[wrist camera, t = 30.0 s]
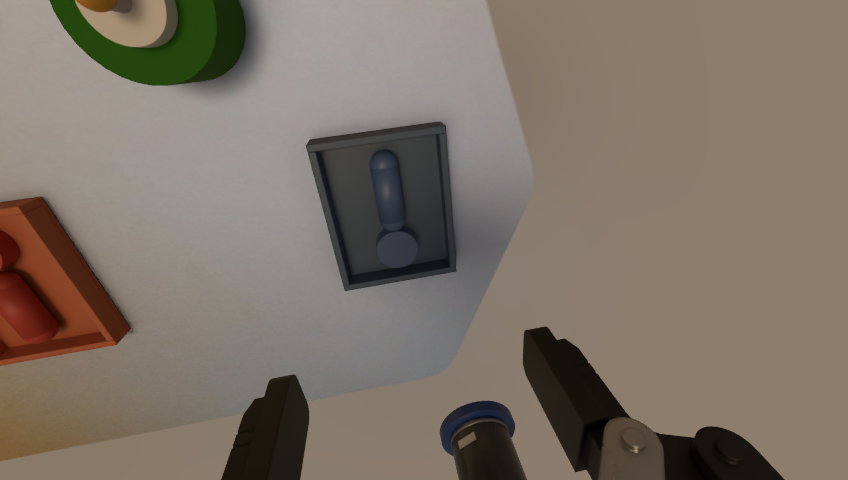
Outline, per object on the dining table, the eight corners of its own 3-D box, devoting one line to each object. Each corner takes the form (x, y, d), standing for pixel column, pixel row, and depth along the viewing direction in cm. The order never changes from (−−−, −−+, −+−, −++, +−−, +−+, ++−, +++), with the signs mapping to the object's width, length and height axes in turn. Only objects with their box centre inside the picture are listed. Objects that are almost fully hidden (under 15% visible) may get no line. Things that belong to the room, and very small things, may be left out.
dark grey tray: (451, 260, 37) (456, 271, 35) (345, 278, 36) (344, 291, 34) (440, 121, 30) (445, 125, 28) (309, 139, 29) (305, 145, 27)
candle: (82, 3, 23) (-92, -33, 14) (161, -96, 21) (19, -205, 13) (196, 105, 27) (113, 127, 18) (270, 27, 25) (219, 9, 16)
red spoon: (80, 326, 33) (61, 344, 31) (35, 334, 33) (13, 353, 31) (-1, 219, 28) (-31, 232, 26) (-56, 227, 28) (-91, 241, 25)
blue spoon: (357, 150, 30) (356, 157, 28) (403, 144, 30) (406, 150, 28) (379, 263, 35) (380, 276, 33) (418, 256, 35) (421, 269, 33)
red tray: (130, 329, 35) (117, 344, 33) (9, 350, 34) (-12, 368, 32) (41, 196, 28) (17, 206, 26) (-113, 218, 27) (-150, 230, 25)
